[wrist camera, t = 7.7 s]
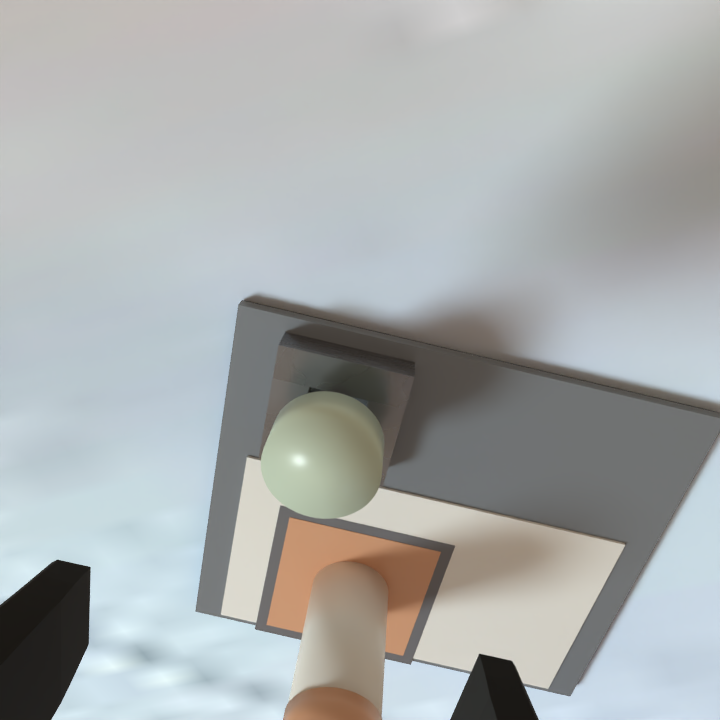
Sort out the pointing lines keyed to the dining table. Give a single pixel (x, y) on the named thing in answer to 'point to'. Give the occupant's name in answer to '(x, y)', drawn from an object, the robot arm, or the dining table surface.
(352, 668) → the marker
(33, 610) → the robot arm
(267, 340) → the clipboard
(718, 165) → the dining table surface
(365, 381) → the button housing
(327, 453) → the button
